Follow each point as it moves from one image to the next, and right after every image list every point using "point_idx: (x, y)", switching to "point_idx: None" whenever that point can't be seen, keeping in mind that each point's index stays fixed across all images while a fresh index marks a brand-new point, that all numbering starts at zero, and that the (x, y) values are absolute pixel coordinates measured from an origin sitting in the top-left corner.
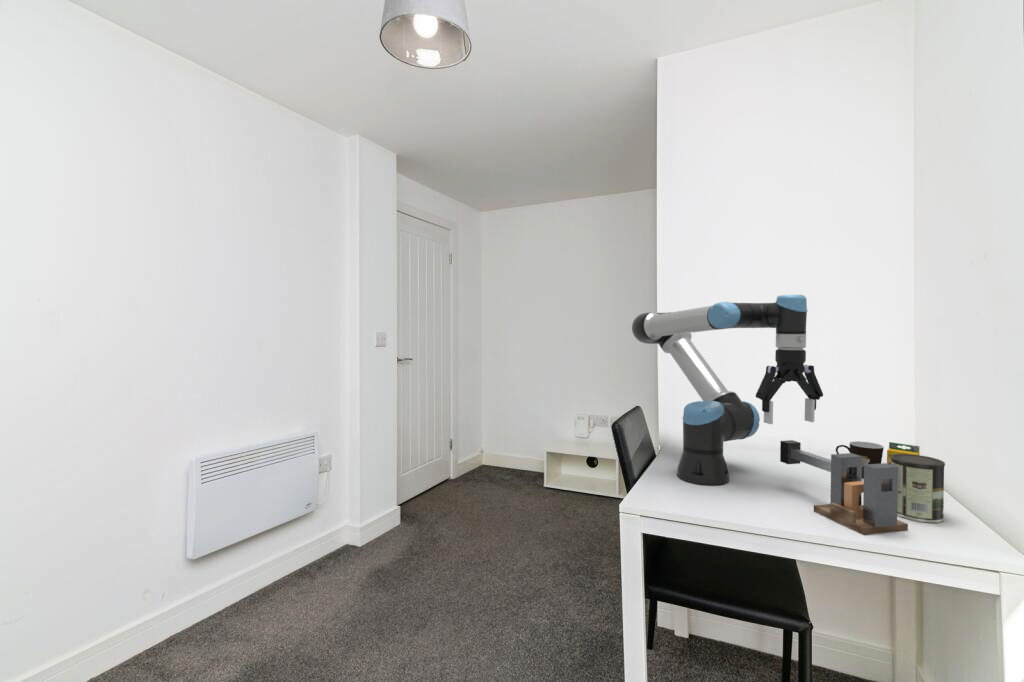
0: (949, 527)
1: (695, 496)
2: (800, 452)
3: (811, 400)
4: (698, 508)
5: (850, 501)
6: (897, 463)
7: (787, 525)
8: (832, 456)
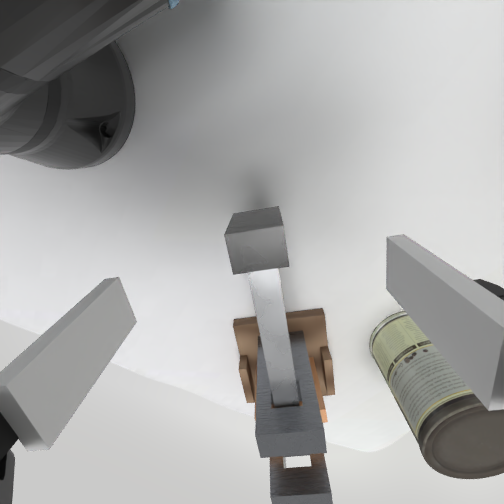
0: None
1: (26, 238)
2: (256, 298)
3: (482, 394)
4: (27, 297)
5: None
6: (419, 432)
7: (158, 363)
8: (256, 433)
